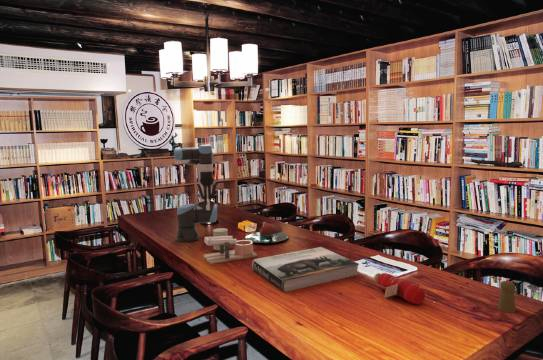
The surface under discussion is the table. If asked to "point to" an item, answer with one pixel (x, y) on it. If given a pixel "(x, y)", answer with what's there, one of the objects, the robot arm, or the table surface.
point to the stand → (225, 255)
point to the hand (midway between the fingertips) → (208, 209)
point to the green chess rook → (507, 297)
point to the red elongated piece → (399, 288)
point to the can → (219, 233)
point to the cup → (243, 247)
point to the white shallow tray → (219, 240)
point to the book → (304, 268)
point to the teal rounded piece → (267, 234)
